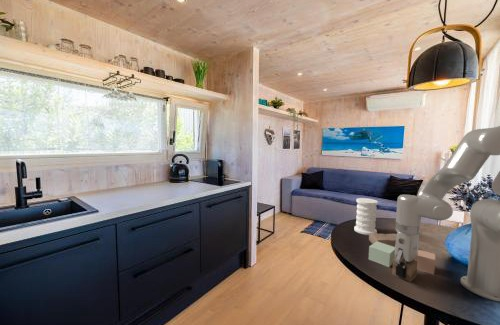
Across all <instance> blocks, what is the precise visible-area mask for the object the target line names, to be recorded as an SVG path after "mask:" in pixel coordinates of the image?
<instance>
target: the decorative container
mask: <svg viewBox="0 0 500 325" xmlns="http://www.w3.org/2000/svg"><path fill="white" fill-rule="evenodd" d="M355 201H356V203H357V204H356V216H355V219H356V221H355V225H354V226H353V227H354V228H353V229H354V232H356V233H358V234H361V235H364V236H369V233H378V230H377V229H376V225H377V224H376V221H377V217H376V216H377V209H378V207H377V205H379V201H378V200H376V199H373V198H367V197H358V198H356V200H355Z"/></svg>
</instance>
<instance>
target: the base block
mask: <svg viewBox="0 0 500 325" xmlns="http://www.w3.org/2000/svg"><path fill="white" fill-rule="evenodd" d="M394 258H396V257H395V247H393V246H390V245H387V244H384V243H381V242H378V241H376V242H375V243H371V245H369V246H368V260H369V261H371V262H375V263H377V264H380V265H382V266H384V267H387V268H390V267H391V266H393V259H394Z"/></svg>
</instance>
